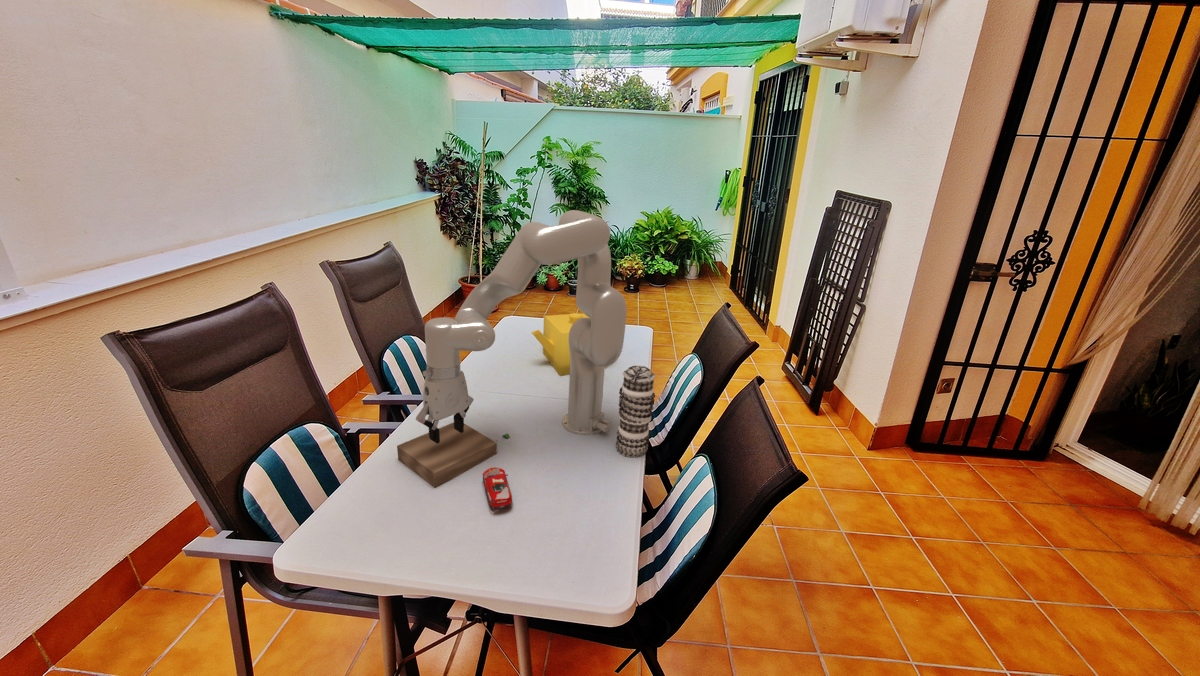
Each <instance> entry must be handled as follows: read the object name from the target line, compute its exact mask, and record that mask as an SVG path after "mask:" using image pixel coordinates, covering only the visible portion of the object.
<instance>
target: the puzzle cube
mask: <svg viewBox="0 0 1200 676" xmlns="http://www.w3.org/2000/svg"><path fill="white" fill-rule="evenodd" d="M501 437H502V438H504V439H506V440H508V439H509V438H510V439H511V436H510V433H509V434H508V433H505V434H503V435H502V436H501ZM496 441H497V442H498V440H497V439H496ZM496 441H495V442H496Z"/></svg>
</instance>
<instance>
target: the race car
mask: <svg viewBox="0 0 1200 676" xmlns="http://www.w3.org/2000/svg"><path fill="white" fill-rule="evenodd" d="M482 481H483V486H484V489H485V493H486V497H487V500H488V501H487V502H488V506H489V507H490V508H491V509H492V510H495V511H496V510H500V509H501V510H502V509H506V508H509V507H511V506H512V505H513V494H512V491H511V488H510V484H509V481H508V474H507V473H506V471H505V470H504V469H503V468H500V467H490V468H487V469H486V470H485V471H483V473H482Z"/></svg>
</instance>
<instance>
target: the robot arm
mask: <svg viewBox="0 0 1200 676" xmlns="http://www.w3.org/2000/svg"><path fill="white" fill-rule="evenodd" d="M610 238H611V231H610V226H609V224H608V223H607V221H606V220H604V219H603V218H602V217H600V216H597V215H595V214H591V213H588V212H585V211H581V210H577V209H572V210H571V209H570V210H567V211H566V212H564V213H562V215H561V216H560V218H559V222H558V224H556V225H548V224H545V223H542V222H538V221H530V222H527V223H525V224H524V225H523V226H522V227H521V228H520V229H519V230H518V232H517V234H515V236H514V238H513V239H512V241H511V242H510V244H509V245H508V247H507V248H506V249H505V250H506V251H504V253H503V254H502V256H501V258H500V259H499V261H498V262H497V264H496V265H495V267H494V269H493V270H492V271H491V272H490V274H488V275H487V276H486V277H484V278H483V279H482V281H480V282H479V283H478V284H477V285H476V286H475V287H474V288H473V289H472V290H471V292H470V293H469V294H468V296H467V297H466V299H465V300H464V301H463V303H462V305H461V306H460V308H459V309H458V311H457V312H456V313H455V314H456V315H455V318H452V317H434V318H430V319H429V320H427V321H426V323H425V325H424V340H425V354H426V355H425V358H426V359H425V360H426V370H423V371H422V375H423V377H424V384H423V390H422V391H423V395H422V396H423V397H422V398H423V399H422V402H423V403H422V404H423V405H422V406H423V407H422V408H421V410H420V411H419V412H418V414H417V416H415V421H417V422H418V423H420V424H421V425H424V426H425V427H427V428H428V433H429V438H430V439H431V440H432V441H434V442H435V443H437V444H438V443H439V442H440V434H439V428H440V427H439V428H438V425H439V422H440V421H441V420H444V419H446V418H449V417H451V416H452V417H453V422H454V429H455V430H457V431H459V432H460V433H463V432H464V424H465V420H464V419H465V418H466V416H467V412H468V411H469V409H470V406H471V405H472V404H473V402H474V398H473V397H472V396H470V395H469V392H468V391H469V389H468V384H467V379H466V376H465V373H464V371H463V370H461V351H463V352H464V351H465V352H483V351H486V350H487V349H490V348H491V347H492V346H493V344H494V343H495V341H496V331H495V329H494V327H493V326H492V325H491V324H490V322H489V321H488V319H489V317H490V315H491V314H492V312H494V310H495V308H497V306H498V305H499V304H500V303H501V302H503V301H504V300H506V299H508V298H510V297H513V296H518V295H520V294H521V293H523V292H524V291H525V290H526V288H527V287H528V285H529V283H530V282H531V280H532V278H533V277H534V275H535V274H536V273H537V271H538V270H539V268H540V267H541V265H545V266H549V265H551V266H552V265H556V264H562V263H566V262H569V261H572V260H576V259H577V277H576V278H577V280H576V290H575V291H576V294H575V304H576V308H577V309H578V310H579V311H580V312H581V313H584V314H585V315H587V316H588V317H590V318H581V319H579V320H577V321H576V322H574V324H573V325H572V326H571V328H570V331H569V350H570V375H569V381H568V383H569V384H568V400H567V401H568V403H567V404H568V405H567V413H566V414H565V415H564V416H563V417H562V419H561V424H562V427H563V429H565V430H566V431H567V432H569V433H570V434H574V435H579V436H589V435H596V434H599V433H600V432H604V433H607V432H609V430H610V426H611V421H608V420H606V419H605V412H603V411H602V407H603V394H604V382H605V371H606V369H605V367H606V368H607V367H610V366H611V365H613V364H615V363H616V362H617V361H618V360H619V359H620V356H621V354H622V350H623V349H624V341H625V332H626V322H627V315H628V314H627V312H628V311H627V309H628V308H627V302H626V299H625V296H623V294H622V293H621V291H619V290H617V288H614V287H613V286H611V284H612V283H611V273H612V256H611V250H610V247H609V244H608V243H609V241H610ZM427 415H428V417H427ZM426 417H427V418H426Z"/></svg>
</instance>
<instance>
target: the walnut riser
mask: <svg viewBox="0 0 1200 676" xmlns="http://www.w3.org/2000/svg"><path fill="white" fill-rule="evenodd" d="M439 434H440V442H439V443H438V444H437V443H435V442H434V441H432V440H431V439H430V438H429V432H427V433H424V434H423V435H420V436H418V437H415V438H412V439H410V440H408V441H405V442H403V443H401V444H398V445H396V449H397V459H398V461H399V462H400V463H402V464H403V465H405V467H407V468H409V469H410V470H411V471H412V472H414V473H415V474H417V475H418V476H419V477H420V478H422V480H424V481H425V482H427V483H428V484H429V485H431V486H432V487H433V488H435V489H436V488H438V487H440V486H442V485H444V484H445V483H448V482H450V481H451V480H454V479H456V478H457V477H459V476H460V475H462V474H464V473H466V472H467V471H469V470H471V469H473V468H474V467H476V466H478V465H480V464H482V463H483V462H484V461H487V460H488V459H491V457H494V456H496V455H497V453H498V447H497V446H498V445H497V444H498V442H496V441H494V440H492V439H491V438H489V437H488V436H486V435H485V434H483V433H482V432H480V431H478V430H477V429H474V428H473V427H471V426H469V425H468V424H466V423H464V432H463V433H460V432H459V431H457V430H455V429H454V421H453V422H451V423H448V424H446V425H444V426H441V427H439Z"/></svg>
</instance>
